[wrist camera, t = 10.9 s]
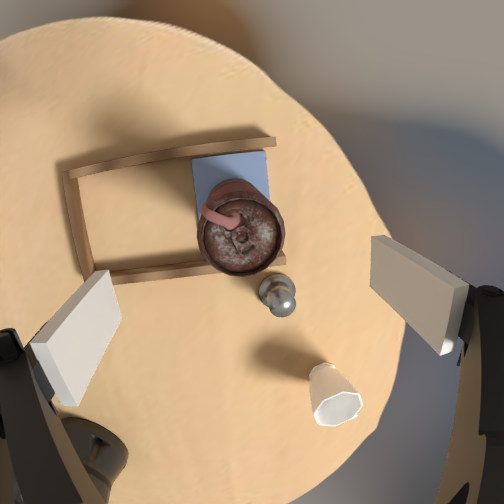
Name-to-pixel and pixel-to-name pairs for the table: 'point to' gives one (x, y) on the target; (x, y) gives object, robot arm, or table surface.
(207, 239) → the can
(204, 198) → the front pad
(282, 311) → the grey metal knob
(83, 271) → the frame
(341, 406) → the cup
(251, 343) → the table surface
